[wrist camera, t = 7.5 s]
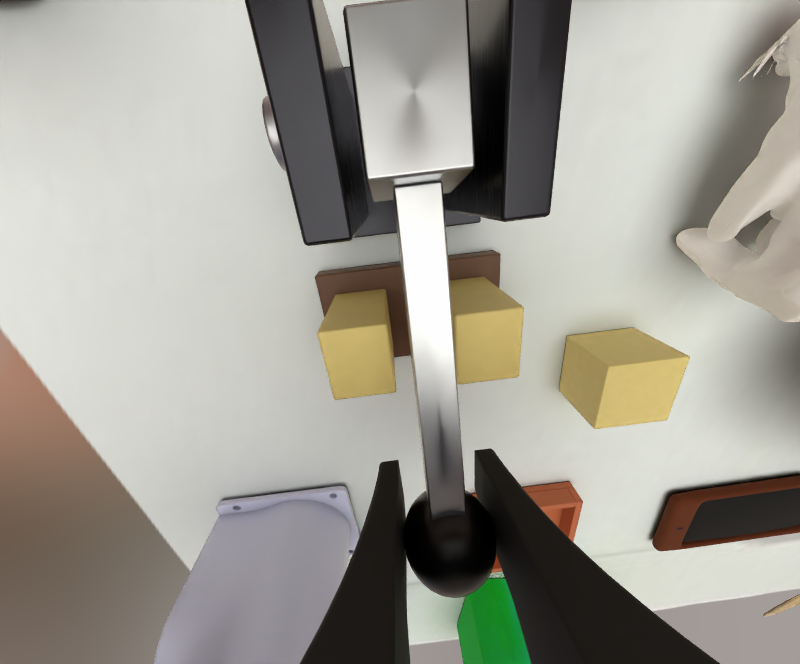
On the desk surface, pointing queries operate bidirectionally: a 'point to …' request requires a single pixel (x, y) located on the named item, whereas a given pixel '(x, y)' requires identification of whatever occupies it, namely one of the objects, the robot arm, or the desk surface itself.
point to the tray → (555, 507)
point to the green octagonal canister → (491, 627)
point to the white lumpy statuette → (761, 208)
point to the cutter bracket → (339, 132)
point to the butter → (388, 330)
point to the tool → (784, 605)
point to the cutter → (425, 249)
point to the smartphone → (730, 514)
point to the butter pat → (621, 377)
